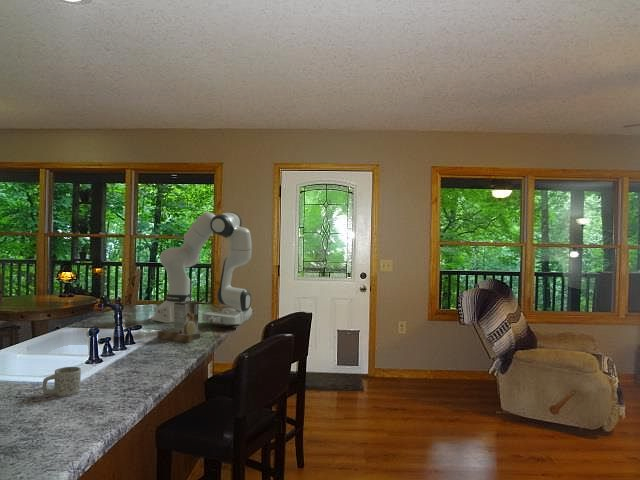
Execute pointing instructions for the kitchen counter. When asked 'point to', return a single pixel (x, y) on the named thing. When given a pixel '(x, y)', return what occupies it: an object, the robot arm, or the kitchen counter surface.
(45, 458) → the kitchen counter surface
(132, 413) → the kitchen counter surface
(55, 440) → the kitchen counter surface
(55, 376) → the mug
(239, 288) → the robot arm
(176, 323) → the coffee box
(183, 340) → the walnut dock
